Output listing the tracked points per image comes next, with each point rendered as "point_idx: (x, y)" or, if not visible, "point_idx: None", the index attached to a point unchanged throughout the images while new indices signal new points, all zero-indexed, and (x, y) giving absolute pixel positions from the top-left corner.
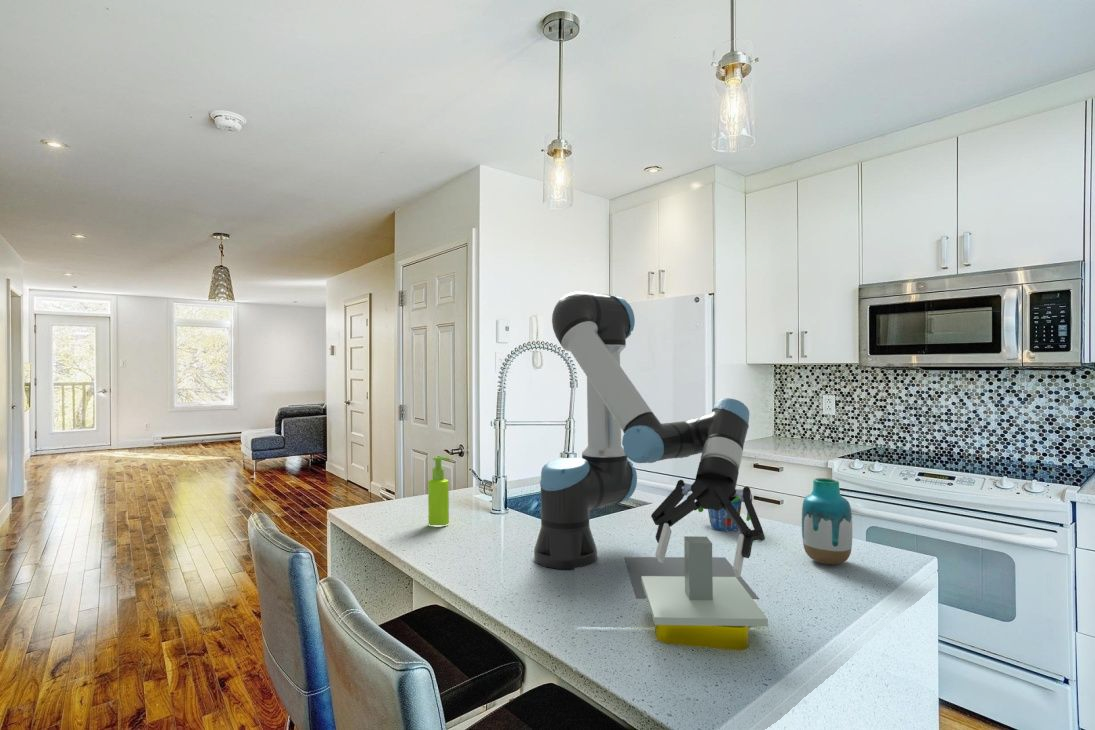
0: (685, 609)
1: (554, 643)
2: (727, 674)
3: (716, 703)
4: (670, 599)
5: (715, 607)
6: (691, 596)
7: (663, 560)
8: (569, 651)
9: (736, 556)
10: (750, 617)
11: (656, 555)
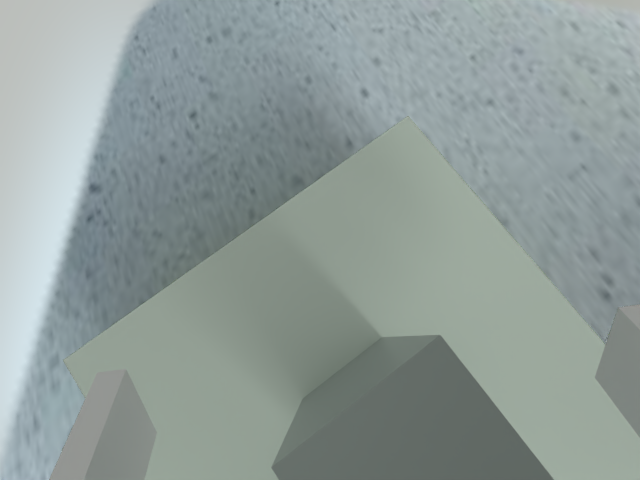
0: (351, 241)
1: (625, 36)
2: (186, 173)
3: (168, 51)
4: (445, 291)
5: (265, 333)
6: (376, 342)
7: (605, 386)
8: (564, 28)
9: (83, 453)
10: (122, 328)
11: (637, 309)
